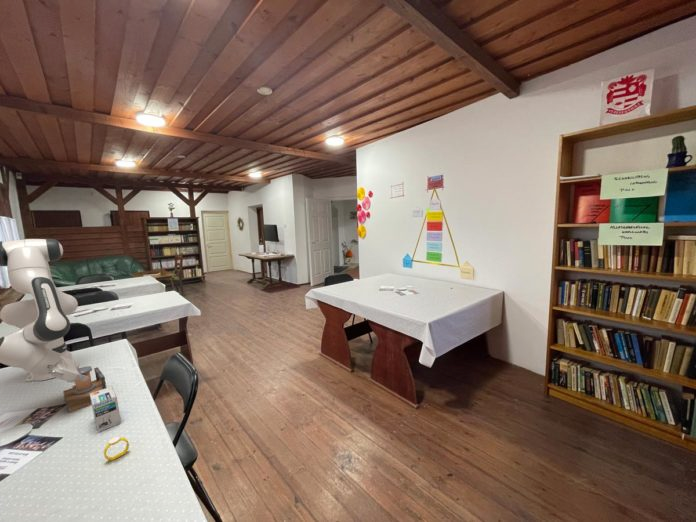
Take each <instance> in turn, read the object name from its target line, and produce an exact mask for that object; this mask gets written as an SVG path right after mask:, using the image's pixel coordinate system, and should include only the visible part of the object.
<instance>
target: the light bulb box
mask: <svg viewBox="0 0 696 522" xmlns="http://www.w3.org/2000/svg"><path fill="white" fill-rule="evenodd" d="M90 399H91V404H92V405H91V408H92V413H93V419H94V420H95V425H96V429H97V432H98V433H100V432H102V431H105V430H107V429H110V428H112V427H115V426H117V425H120V424H121V423H122V420H121V414H120V409H119V407H120V406H119V403H118V396H117V394H116V393H115V391H114V388H113V386H112V385H111V386H110V387H109V386H108V387H106V389H103V390H100V391H97V392H93V393H91V394H90Z"/></svg>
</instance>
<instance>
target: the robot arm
mask: <svg viewBox="0 0 696 522" xmlns="http://www.w3.org/2000/svg"><path fill="white" fill-rule="evenodd" d="M63 254H64V249H63V245H62V244H61V243H60V242H59V240H57V239H55V238H25V239H14V240H8V241H1V240H0V267H7V276H8V282H9V284H10V286H11V289H12V290H14V291H16V292H19V293H22V294H29V295H31V296H32V297H33V298H31V299H24V300H18V301H15V302H10V303H9V304H5V305H4V306H3V307H2V308H1V310H0V319H1V321H2V322H3V323H4V324H6V325H9V326H13V327H16V328H18V329H19V330H17V331H15V332H12V333H10V334H7V335H5V336H1V337H0V364H3V365H5V366H8V367H11V368H19V369H23V370H24V371H25V372H28V376H27V377H26V379H25V382H26V383H28V382H34V381H35V382H40V381H45V380H46V381H47V380H51V379H54V378H56V379H58V380H61V381H65V382H67V383H74V381H75V380H82V381H86V380H87V379H88V376H86V375H82V374H79V372H78V370H77V369H78V368H80V363H78V362H76V361H74V357H73V353H72V352H71V351H69V350H67V349H68V347H67V344H66V342H65V340H64V337H65V336H66V335H67V334H68V333H69V331H70V329H71V322H70V321H71V320H70V319H69V318H68V315H71V314H73V313H75V312H76V311H77V308H78V306H79V303H78V300H77V298H76V297H74V296H73V295H71V294H68V293H66V292H64V291H61V290H60V289H59V288H58V287H57V286H56V284H55V283H54V279H53V276H52V273H51V269H50V268H51V267H50V264H49V262H50V263H53V262H57V261H59V260H60V259H61V258H62V256H63Z"/></svg>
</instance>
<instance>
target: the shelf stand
mask: <svg viewBox="0 0 696 522" xmlns="http://www.w3.org/2000/svg"><path fill="white" fill-rule="evenodd" d="M93 370H94V374H95V379H94V380H91V382H92V384H95V388H94V389H93V390H92V391H90V392H87V393H84V394H80V395H75V393H74V391H75V390H76V386H75V387H71V388H68V389H65V390H63V392H62V393H63V398H64V401H65V402H66V403H67V405H68V411H69V413H74V412H76V411H79V410H81V409H84V408H86V407H90V406H92V404H91V399H90V394H91V393H93V392H97V391H100V390H103V389H106V388H107V384H106V378H105V375H104V374H103V372H102V371H101V370H100V368H99V367H98V366H97V367H95V368H94V367H93Z"/></svg>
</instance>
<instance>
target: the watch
mask: <svg viewBox="0 0 696 522" xmlns="http://www.w3.org/2000/svg"><path fill="white" fill-rule="evenodd" d="M121 441H124V442H125V443H126V446H125V448H124V450H123V451H120V452H119V453H118V454H116V455H114V456H108V455H107V453H108V452H107V451H108V449H109V448H110V447H111V446H114V445H117V444H118V443H119V442H121ZM129 447H130V443H129V441H128V439H127V438H125V437H120V436H115V437H113V438H111V439H109V441H108V444H107V445H105V446H104V449H103V455H104V458H105V459H106V460H107V461H115V460H116V459H118V458H120V457H122V456H123V455H125V454H126V453H127V452H128V450H129ZM114 459H115V460H114Z"/></svg>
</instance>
